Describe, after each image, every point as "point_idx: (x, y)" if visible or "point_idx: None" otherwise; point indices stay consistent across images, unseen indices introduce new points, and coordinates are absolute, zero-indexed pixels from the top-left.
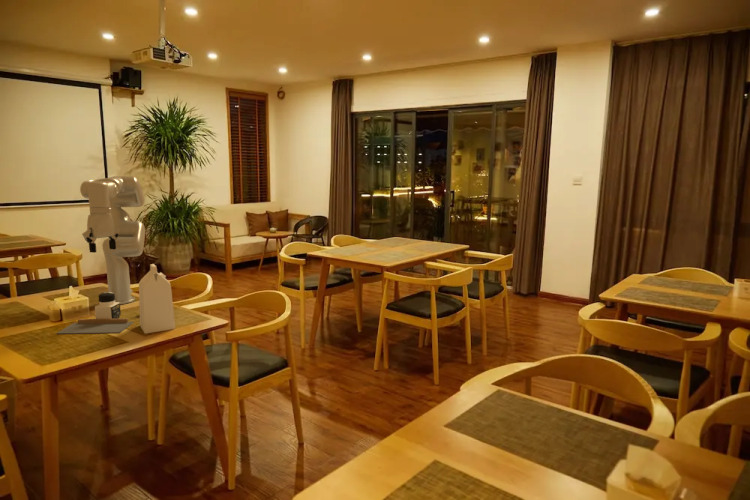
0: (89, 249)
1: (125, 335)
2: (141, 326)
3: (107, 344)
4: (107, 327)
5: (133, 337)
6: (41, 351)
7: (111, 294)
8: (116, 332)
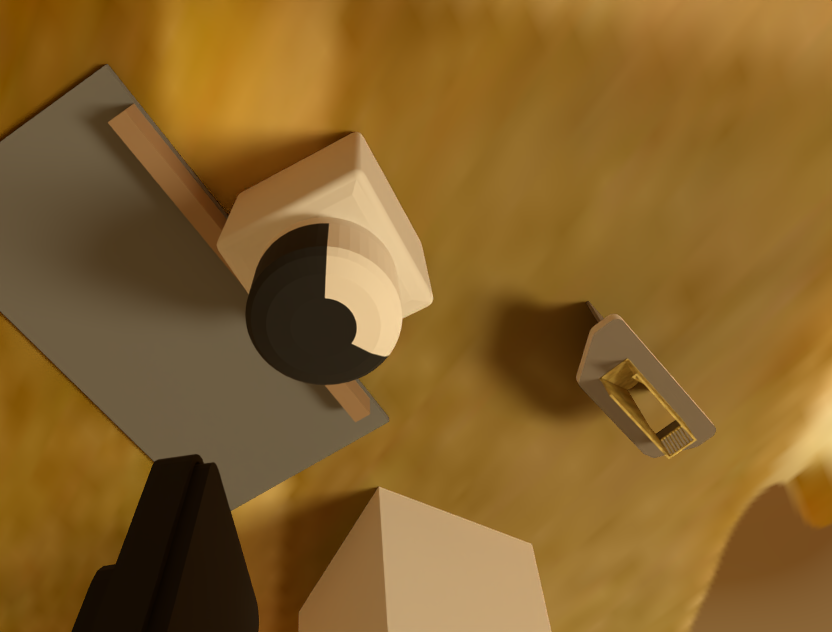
0: (95, 577)
1: None
2: (351, 537)
3: (74, 609)
4: (215, 390)
5: None
6: None
7: (341, 379)
8: None
